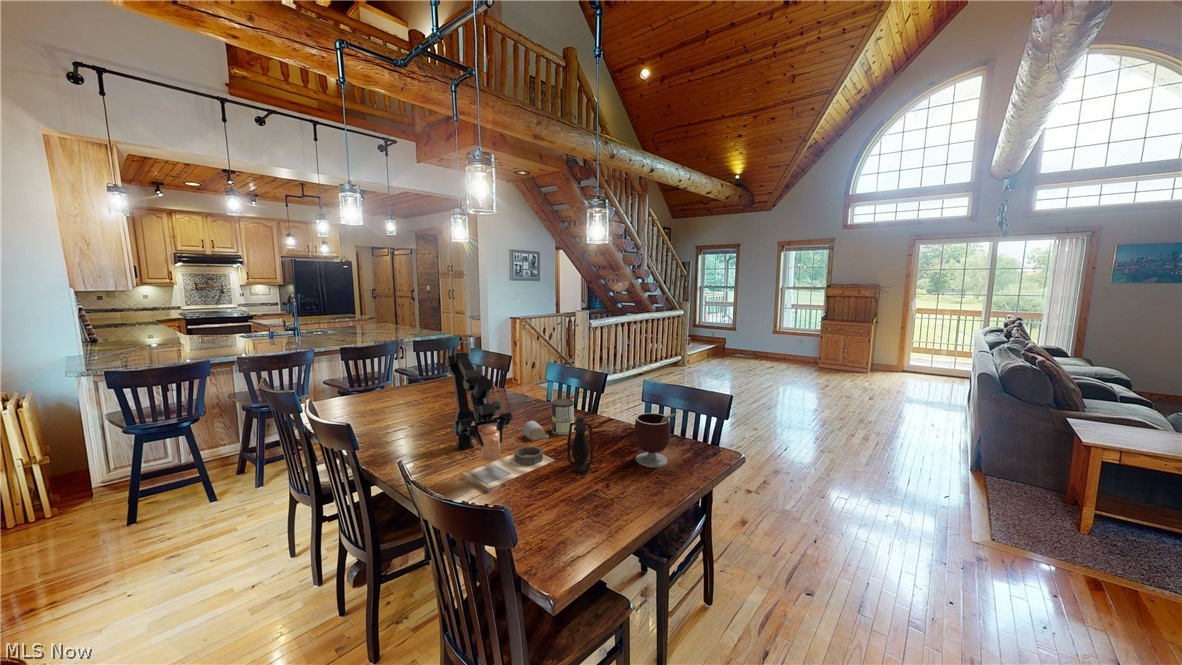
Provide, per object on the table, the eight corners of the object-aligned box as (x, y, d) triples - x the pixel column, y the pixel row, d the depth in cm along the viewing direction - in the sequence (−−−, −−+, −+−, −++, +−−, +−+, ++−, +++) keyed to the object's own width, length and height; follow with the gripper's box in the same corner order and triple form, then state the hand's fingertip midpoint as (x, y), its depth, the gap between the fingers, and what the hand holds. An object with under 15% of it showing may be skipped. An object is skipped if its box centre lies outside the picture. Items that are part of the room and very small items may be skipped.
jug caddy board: (529, 451, 173) (528, 441, 173) (555, 463, 163) (555, 452, 162) (463, 477, 152) (462, 465, 151) (488, 492, 141) (488, 480, 140)
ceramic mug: (530, 445, 180) (530, 427, 179) (522, 438, 187) (522, 421, 186) (552, 440, 186) (552, 423, 185) (543, 434, 193) (544, 418, 192)
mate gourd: (629, 465, 162) (630, 414, 159) (638, 451, 175) (639, 404, 172) (670, 471, 157) (672, 419, 154) (676, 456, 170) (678, 408, 167)
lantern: (575, 476, 152) (574, 395, 148) (565, 467, 160) (565, 390, 155) (594, 471, 156) (595, 392, 152) (584, 463, 163) (585, 387, 159)
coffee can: (547, 431, 196) (546, 402, 194) (561, 425, 204) (561, 397, 202) (564, 436, 190) (564, 406, 188) (578, 430, 198) (578, 400, 196)
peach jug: (479, 455, 151) (478, 426, 149) (496, 451, 154) (495, 422, 153) (487, 465, 143) (486, 434, 142) (505, 461, 146) (505, 431, 145)
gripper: (458, 398, 145) (469, 439, 137) (510, 390, 155) (522, 428, 147) (453, 413, 153) (463, 453, 145) (503, 405, 163) (514, 442, 155)
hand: (491, 444), depth 148 cm, fingers closed on peach jug, 6 cm apart
